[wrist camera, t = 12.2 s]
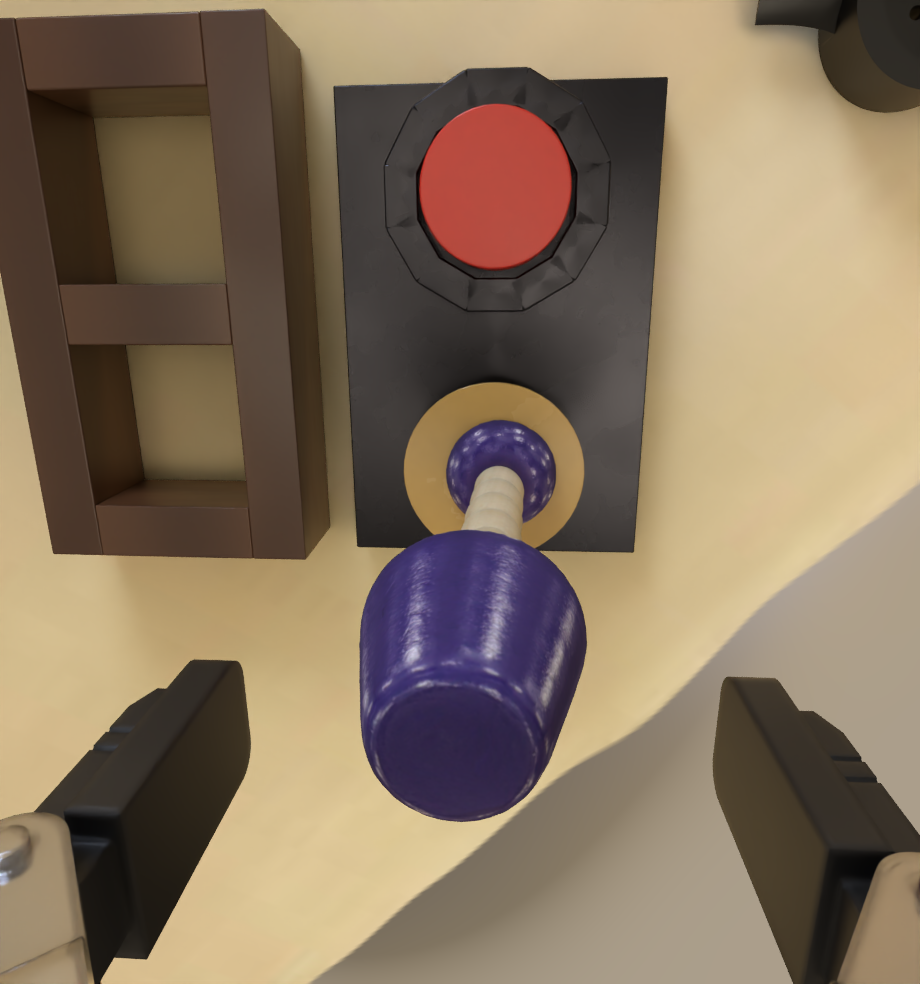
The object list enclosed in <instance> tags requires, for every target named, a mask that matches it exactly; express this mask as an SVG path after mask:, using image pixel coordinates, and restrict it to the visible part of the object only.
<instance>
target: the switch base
mask: <svg viewBox="0 0 920 984" xmlns="http://www.w3.org/2000/svg"><path fill="white" fill-rule="evenodd" d="M667 84H668V78H667V77H652V78H614V79H577V80H549V79H547V78H546V77H544V76H542V75H541V74H539V73H538V72H536V71H535V70H533V69H531V68H528V67H511V68H475V69H466V70H463V71H462V72H460V73H459V74H457V75H456V76H454V77H453V78H451V79H450V80H449V81H447V82H446V83H425V84H387V85H349V86H334V106H335V126H336V145H337V164H338V184H339V203H340V222H341V242H342V261H343V281H344V300H345V319H346V339H347V358H348V377H349V397H350V416H351V435H352V455H353V474H354V493H355V513H356V532H357V546H358V547H386V548H407V547H409V546H411V545H413V544H415V543H416V542H419V541H421V540H423V539H425V538H427V537H430V536H433V535H434V534H433V533H431V532H430V531H429V529H428V528H427V527H426V526H425V525H424V524H423V523H422V521H421V520H420V519H419V517H418V516H417V514H416V512H415V511H414V509H413V507H412V505H411V502H410V500H409V497H408V494H407V490H406V486H405V479H404V459H405V454H406V449H407V446H408V442H409V439H410V437H411V435H412V433H413V431H414V429H415V427H416V425H417V424H418V422H419V421H420V419H421V418H422V417H423V415H424V414H425V413H426V412H427V411H428V410H429V408H431V407H432V406H433V405H434V404H435V403H436V402H437V401H439V400H440V399H442V398H443V397H445V396H446V395H448V394H449V393H451V392H454V391H456V390H458V389H460V388H463V387H466V386H469V385H473V384H478V383H486V382H502V383H510V384H515V385H519V386H522V387H525V388H528V389H530V390H532V391H534V392H536V393H538V394H540V395H542V396H543V397H545V398H546V399H548V400H549V401H551V402H552V403H553V404H554V405H555V406H556V407H557V408H558V409H559V410H560V411H561V412H562V413H563V414H564V415H565V417H566V418H567V419H568V421H569V422H570V424H571V425H572V427H573V429H574V431H575V433H576V435H577V437H578V439H579V442H580V446H581V449H582V453H583V459H584V482H583V488H582V492H581V496H580V499H579V501H578V504H577V506H576V508H575V510H574V512H573V513H572V515H571V517H570V518H569V520H568V521H567V522H566V524H565V525H564V526H563V527H562V528H561V529H560V530H559V531H558V532H557V533H556V534H555V535H554V536H553V537H551V538H550V539H549V540H548V541H546V542H545V543H543V544H541V545H540V546H538V547H536V548H535V549H537V550H539V551H582V552H631V553H633V552H634V543H635V529H636V515H637V501H638V487H639V473H640V459H641V445H642V432H643V418H644V404H645V390H646V376H647V362H648V348H649V334H650V320H651V306H652V292H653V278H654V265H655V251H656V237H657V223H658V209H659V195H660V181H661V167H662V153H663V139H664V125H665V111H666V97H667ZM488 104H507V105H512V106H517V107H520V108H522V109H525V110H527V111H529V112H531V113H533V114H535V115H536V116H538V117H539V118H540V119H542V120H543V121H544V122H545V123H546V124H547V125H548V126H549V127H550V128H551V129H552V130H553V131H554V133H555V134H556V135H557V137H558V138H559V140H560V142H561V143H562V145H563V147H564V150H565V152H566V154H567V157H568V161H569V165H570V170H571V177H572V191H571V200H570V204H569V209H568V212H567V215H566V217H565V220H564V222H563V224H562V226H561V228H560V230H559V231H558V233H557V234H556V236H555V237H554V239H553V240H552V241H551V242H550V243H549V245H548V246H547V247H546V248H545V249H544V250H543V251H542V252H541V253H540V254H539V255H537V256H536V257H534V258H533V259H532V260H530V261H528V262H526V263H525V264H523V265H520V266H517V267H515V268H511V269H506V270H497V271H493V270H484V269H479V268H475V267H473V266H470V265H468V264H466V263H464V262H462V261H460V260H458V259H457V258H455V257H454V256H452V255H451V254H449V253H448V252H447V251H446V250H445V249H444V248H443V247H442V246H441V245H440V244H439V243H438V241H437V240H436V239H435V238H434V236H433V234H432V233H431V231H430V230H429V227H428V225H427V223H426V221H425V218H424V215H423V212H422V208H421V203H420V194H419V183H420V174H421V168H422V165H423V161H424V158H425V156H426V153H427V151H428V149H429V147H430V145H431V143H432V142H433V140H434V138H435V137H436V136H437V134H438V133H439V132H440V131H441V130H442V129H443V128H444V126H445V125H446V124H447V123H449V122H450V121H451V120H452V119H454V118H455V117H456V116H458V115H460V114H461V113H463V112H465V111H467V110H470V109H472V108H475V107H478V106H482V105H488Z"/></svg>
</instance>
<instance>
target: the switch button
mask: <svg viewBox="0 0 920 984" xmlns="http://www.w3.org/2000/svg"><path fill="white" fill-rule="evenodd" d="M571 191H572V177H571V170H570V165H569V161H568V157H567V154H566V152H565V150H564V147H563V145H562V143H561V142H560V140H559V138H558V137H557V135H556V134H555V133H554V131H553V130H552V129H551V128H550V127H549V126H548V125H547V124H546V123H545V122H544V121H543V120H542V119H540V118H539V117H538V116H536V115H535V114H533V113H531V112H529V111H527V110H525V109H522V108H520V107H517V106H512V105H507V104H488V105H482V106H478V107H475V108H472V109H470V110H467V111H465V112H463V113H461V114H460V115H458V116H456V117H455V118H454V119H452V120H451V121H450V122H449V123H447V124H446V125H445V126H444V128H443V129H442V130H441V131H440V132H439V133H438V134H437V136H436V137H435V138H434V140H433V142H432V143H431V145H430V147H429V149H428V151H427V153H426V156H425V158H424V161H423V165H422V168H421V174H420V183H419V194H420V203H421V208H422V212H423V215H424V218H425V221H426V223H427V225H428V227H429V230H430V231H431V233H432V234H433V236H434V238H435V239H436V240H437V241H438V243H439V244H440V245H441V246H442V247H443V248H444V249H445V250H446V251H447V252H448V253H449V254H451V255H452V256H454V257H455V258H457V259H458V260H460V261H462V262H464V263H466V264H468V265H470V266H473V267H475V268H479V269H484V270H493V271H497V270H506V269H511V268H515V267H517V266H520V265H523V264H525V263H526V262H528V261H530V260H532V259H533V258H534V257H536V256H537V255H539V254H540V253H541V252H542V251H543V250H544V249H545V248H546V247H547V246H548V245H549V243H550V242H551V241H552V240H553V239H554V237H555V236H556V234H557V233H558V231H559V230H560V228H561V226H562V224H563V222H564V220H565V217H566V215H567V212H568V209H569V204H570V200H571Z"/></svg>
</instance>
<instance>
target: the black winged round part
mask: <svg viewBox="0 0 920 984" xmlns="http://www.w3.org/2000/svg"><path fill="white" fill-rule="evenodd" d="M755 25H796V26H805V27H811V28H816V29H819V34H818V41H819V52H820V57H821V61H822V65H823V68H824V70H825V72H826V75H827V77H828V78H829V80H830V82H831V83H832V85H833V86H834V87H835V89H836V90H837V91H838V92H839V93H840V94H841V95H842V96H843V97H844V98H846V99H847V100H848V101H850V102H851V103H853V104H855V105H857V106H859V107H861V108H864V109H867V110H871V111H876V112H898V111H903V110H908V109H911V108H914V107H917V106H919V105H920V0H759V3H758V8H757V14H756V21H755Z"/></svg>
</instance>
